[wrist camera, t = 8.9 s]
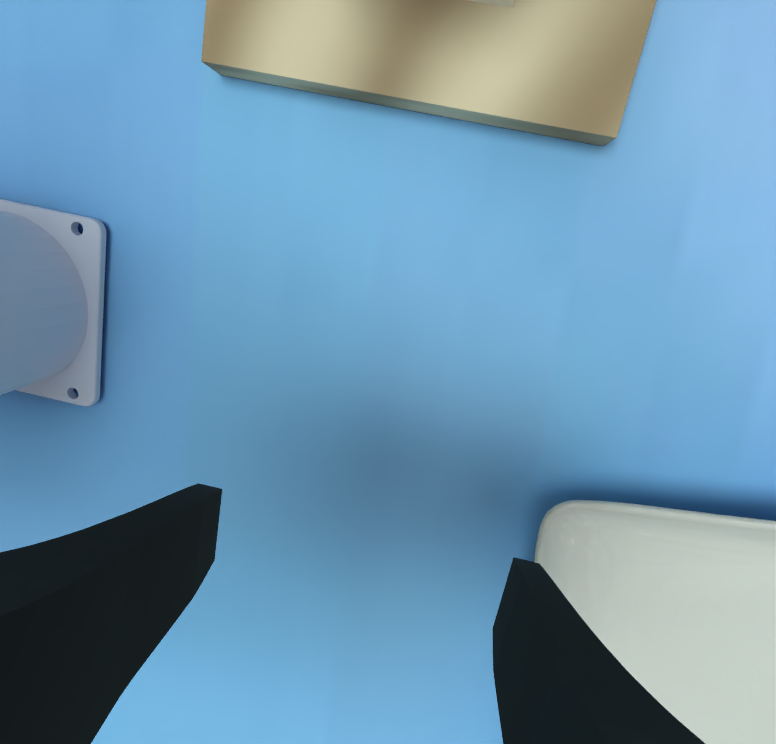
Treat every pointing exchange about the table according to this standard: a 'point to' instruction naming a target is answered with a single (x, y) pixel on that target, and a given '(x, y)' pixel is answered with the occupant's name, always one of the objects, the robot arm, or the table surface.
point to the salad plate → (676, 606)
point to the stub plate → (445, 56)
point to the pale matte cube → (497, 2)
